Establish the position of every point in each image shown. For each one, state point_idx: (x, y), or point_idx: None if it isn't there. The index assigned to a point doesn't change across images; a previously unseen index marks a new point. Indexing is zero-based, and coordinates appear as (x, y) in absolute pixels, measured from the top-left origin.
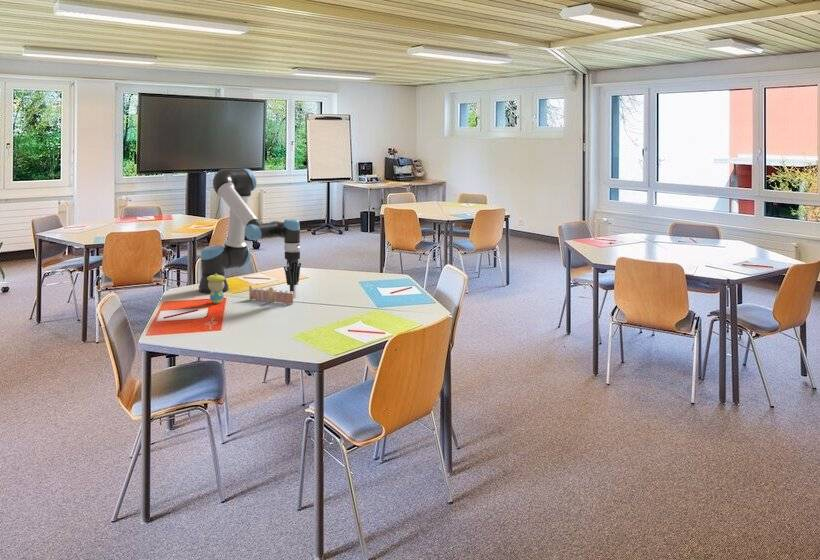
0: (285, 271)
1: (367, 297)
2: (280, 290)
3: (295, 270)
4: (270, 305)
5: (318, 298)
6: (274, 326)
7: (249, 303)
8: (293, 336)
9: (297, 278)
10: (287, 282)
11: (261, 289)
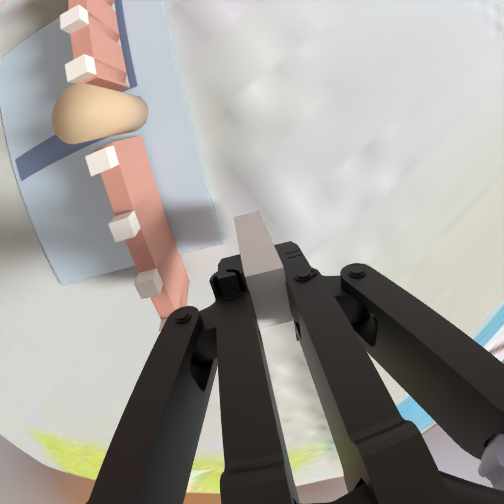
0: (97, 497)
1: None
2: (117, 231)
3: (348, 482)
4: (64, 194)
5: (399, 270)
6: (8, 387)
7: (24, 61)
8: (33, 432)
9: (365, 347)
10: (165, 341)
11: (64, 19)
